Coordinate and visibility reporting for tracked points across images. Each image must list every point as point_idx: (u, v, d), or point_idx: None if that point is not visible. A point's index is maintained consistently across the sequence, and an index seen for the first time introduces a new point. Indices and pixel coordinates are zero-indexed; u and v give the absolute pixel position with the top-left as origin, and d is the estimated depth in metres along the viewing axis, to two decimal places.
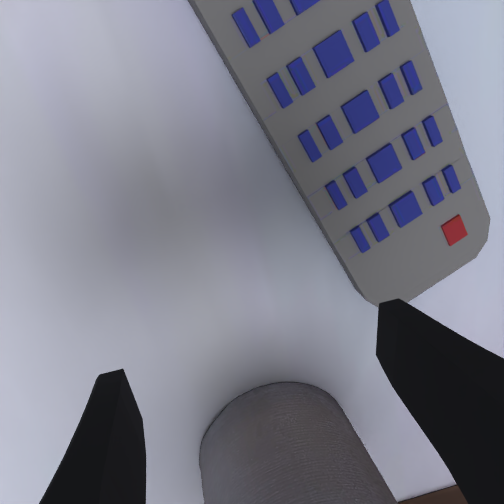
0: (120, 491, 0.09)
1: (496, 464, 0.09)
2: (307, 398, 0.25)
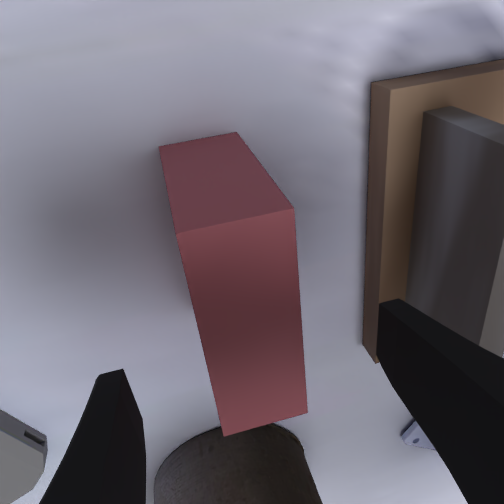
0: (120, 491, 0.09)
1: (496, 464, 0.09)
2: (156, 501, 0.25)
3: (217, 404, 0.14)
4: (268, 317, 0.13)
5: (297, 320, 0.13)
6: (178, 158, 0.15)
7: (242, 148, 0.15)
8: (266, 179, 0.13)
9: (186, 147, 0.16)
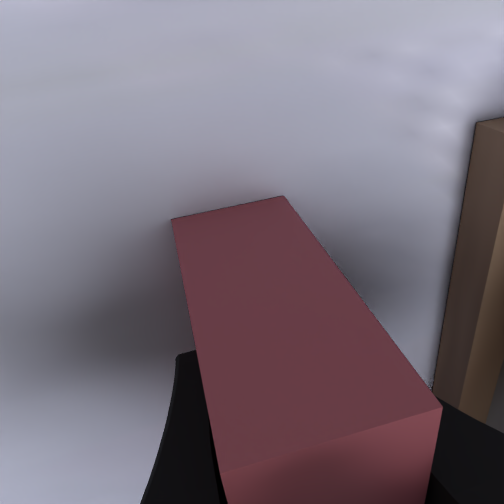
0: (217, 462, 0.09)
1: None
2: None
3: None
4: None
5: None
6: (203, 248, 0.10)
7: (301, 232, 0.10)
8: (361, 312, 0.07)
9: (213, 224, 0.11)
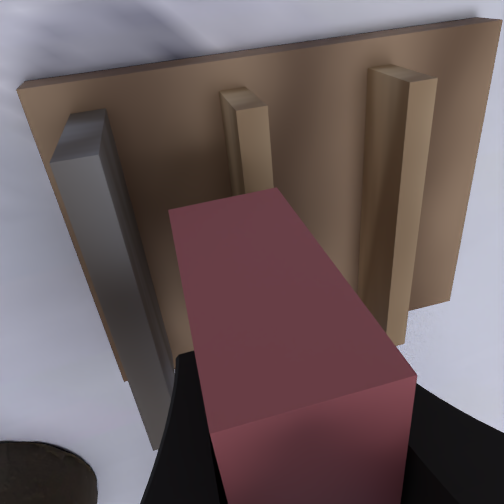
0: None
1: (402, 495, 0.08)
2: None
3: None
4: None
5: None
6: (198, 236, 0.10)
7: (292, 220, 0.10)
8: (346, 293, 0.08)
9: (209, 213, 0.11)
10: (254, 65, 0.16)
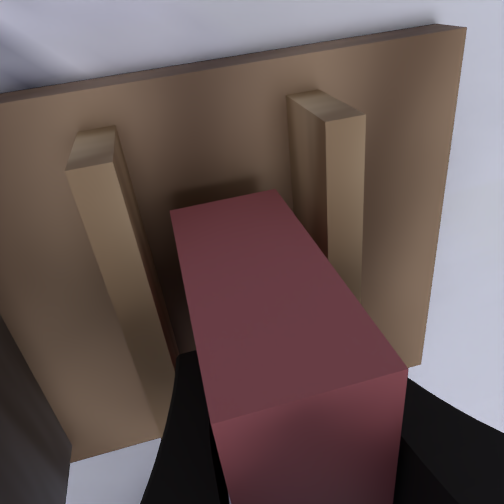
0: (217, 462, 0.09)
1: (402, 495, 0.08)
2: None
3: None
4: None
5: (387, 503, 0.09)
6: (199, 236, 0.11)
7: (290, 221, 0.11)
8: (342, 291, 0.08)
9: (209, 214, 0.11)
10: (123, 96, 0.12)
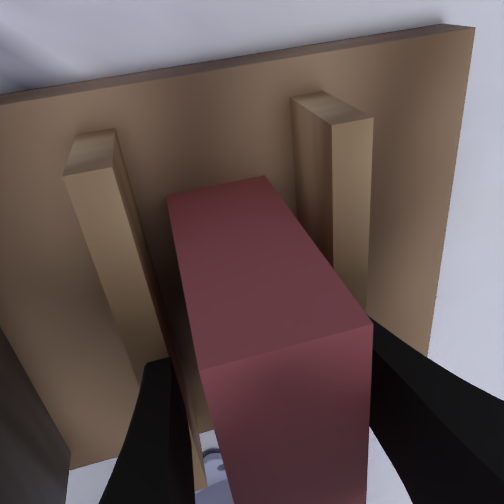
0: (179, 474, 0.09)
1: (441, 482, 0.09)
2: None
3: None
4: (324, 456, 0.09)
5: (362, 454, 0.09)
6: (193, 218, 0.11)
7: (276, 203, 0.12)
8: (319, 262, 0.09)
9: (202, 198, 0.12)
10: (123, 99, 0.11)
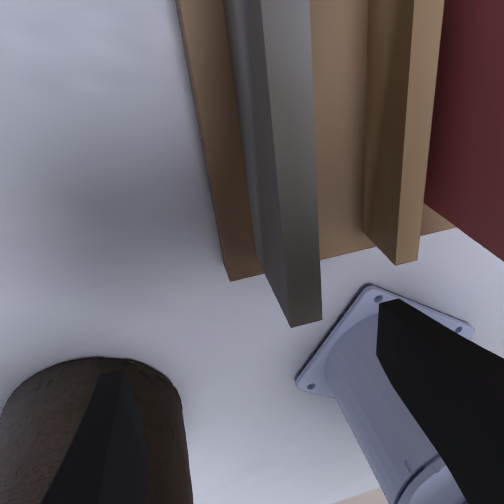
0: (120, 491, 0.09)
1: (496, 464, 0.09)
2: None
3: None
4: None
5: None
6: None
7: None
8: None
9: None
10: None
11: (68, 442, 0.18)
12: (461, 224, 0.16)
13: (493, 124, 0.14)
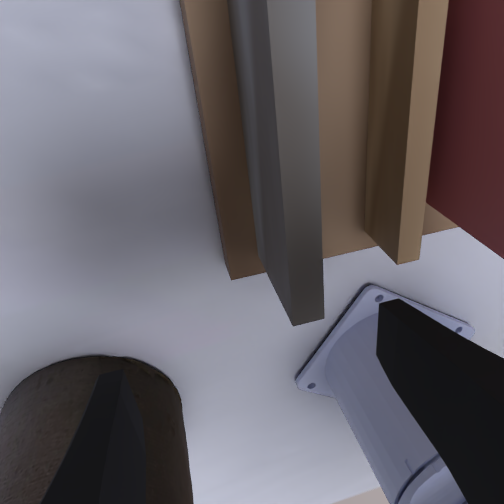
0: (120, 491, 0.09)
1: (496, 464, 0.09)
2: None
3: None
4: None
5: None
6: None
7: None
8: None
9: None
10: None
11: (68, 440, 0.18)
12: (463, 223, 0.16)
13: (496, 123, 0.14)
